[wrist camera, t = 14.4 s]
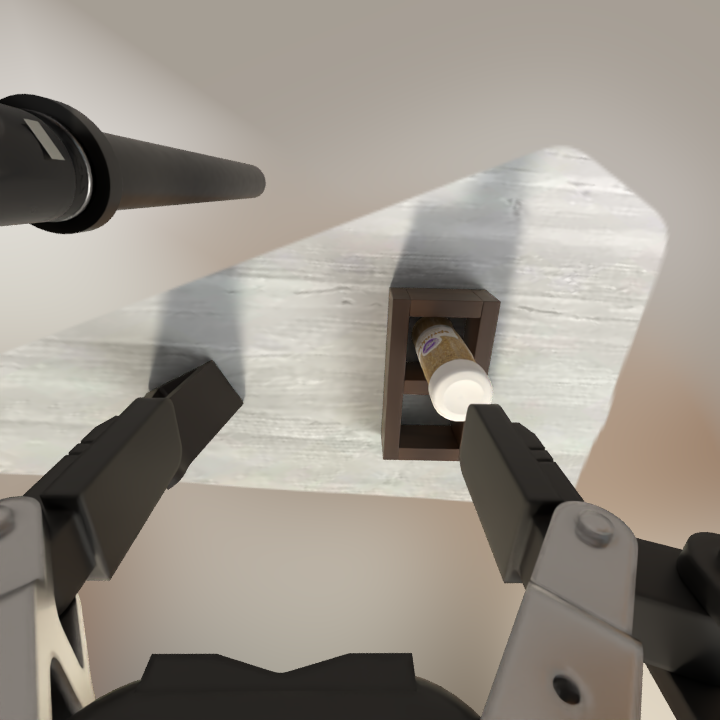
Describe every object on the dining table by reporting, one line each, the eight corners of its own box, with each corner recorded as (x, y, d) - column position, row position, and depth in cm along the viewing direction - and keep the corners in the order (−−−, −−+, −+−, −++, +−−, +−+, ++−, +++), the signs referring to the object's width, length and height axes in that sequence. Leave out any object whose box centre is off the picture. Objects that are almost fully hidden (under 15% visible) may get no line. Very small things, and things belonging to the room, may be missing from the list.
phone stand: (180, 431, 45) (123, 509, 34) (147, 391, 43) (75, 461, 32) (244, 402, 44) (206, 473, 33) (213, 359, 42) (161, 420, 31)
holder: (380, 435, 46) (383, 459, 42) (389, 287, 38) (393, 299, 34) (462, 437, 46) (472, 461, 42) (486, 289, 38) (501, 301, 34)
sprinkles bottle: (425, 305, 39) (456, 358, 27) (462, 325, 40) (508, 386, 28) (402, 341, 41) (420, 408, 28) (437, 360, 42) (470, 433, 29)
